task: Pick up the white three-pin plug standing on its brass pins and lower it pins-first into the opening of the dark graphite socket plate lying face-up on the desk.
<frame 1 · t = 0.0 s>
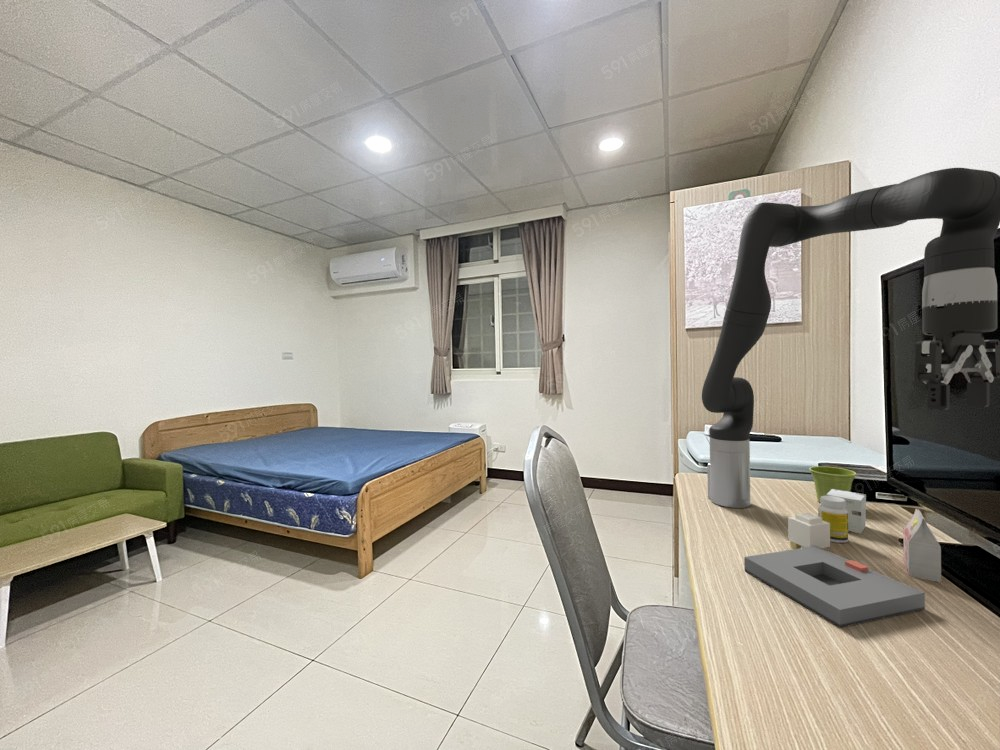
hand: (958, 407, 61), 29 cm above the table, tool pointing down, fingers open, 8 cm apart
plug: (808, 550, 77), on the table
supplement bottle: (833, 539, 82), on the table
skincare box: (846, 527, 88), on the table
tea bag: (921, 572, 69), on the table
plant pot: (832, 504, 103), on the table
socket: (826, 588, 64), on the table
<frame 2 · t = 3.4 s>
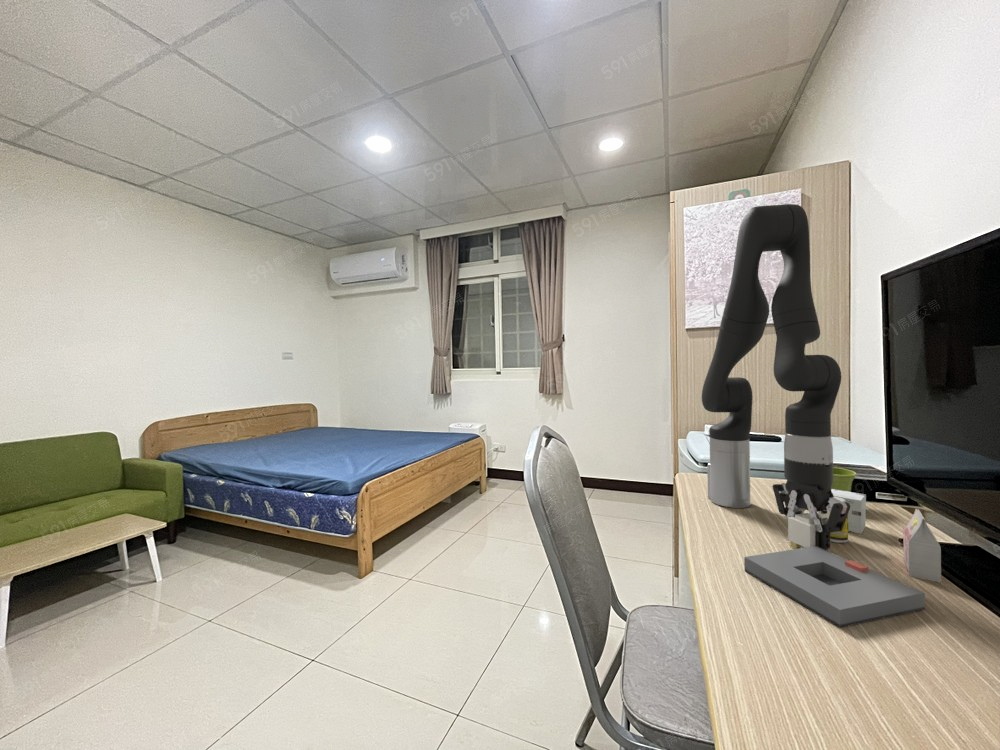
hand: (808, 544, 77), 1 cm above the table, tool pointing down, fingers closed on plug, 4 cm apart
plug: (808, 550, 77), on the table, touching gripper
everything else where it was.
when the fingers open (3 cm above the table, at t = 7.6 s): plug drops 1 cm, resting on socket.
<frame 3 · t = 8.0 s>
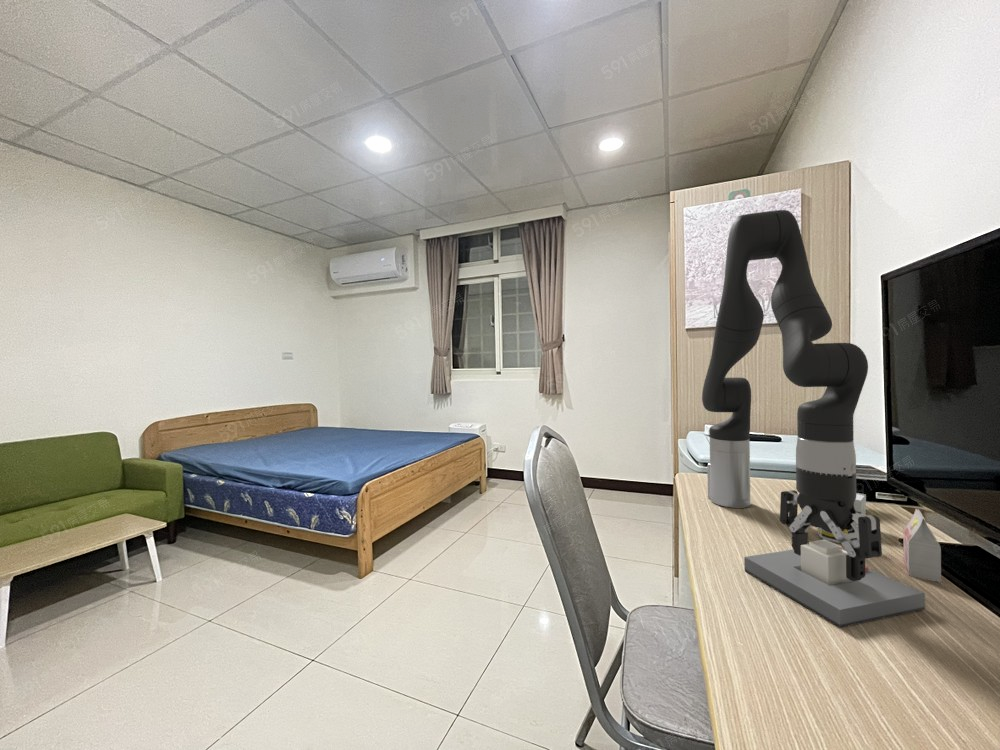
hand: (826, 566, 64), 4 cm above the table, tool pointing down, fingers open, 8 cm apart
plug: (825, 585, 64), resting on socket
everything else where it was.
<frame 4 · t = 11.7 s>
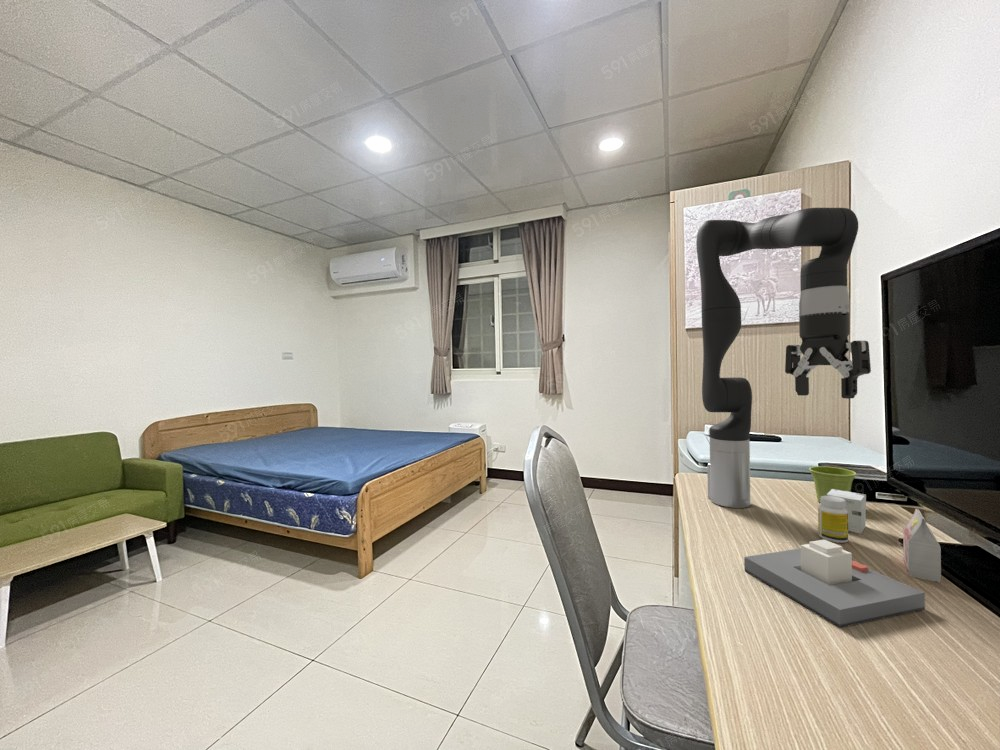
hand: (824, 396, 77), 30 cm above the table, tool pointing down, fingers open, 8 cm apart
nothing on the table moved.
at the end: plug 0.1 cm off-centre on the socket, point 0.4 cm above the socket's base; plug tilted 0°; the gripper is holding nothing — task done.
